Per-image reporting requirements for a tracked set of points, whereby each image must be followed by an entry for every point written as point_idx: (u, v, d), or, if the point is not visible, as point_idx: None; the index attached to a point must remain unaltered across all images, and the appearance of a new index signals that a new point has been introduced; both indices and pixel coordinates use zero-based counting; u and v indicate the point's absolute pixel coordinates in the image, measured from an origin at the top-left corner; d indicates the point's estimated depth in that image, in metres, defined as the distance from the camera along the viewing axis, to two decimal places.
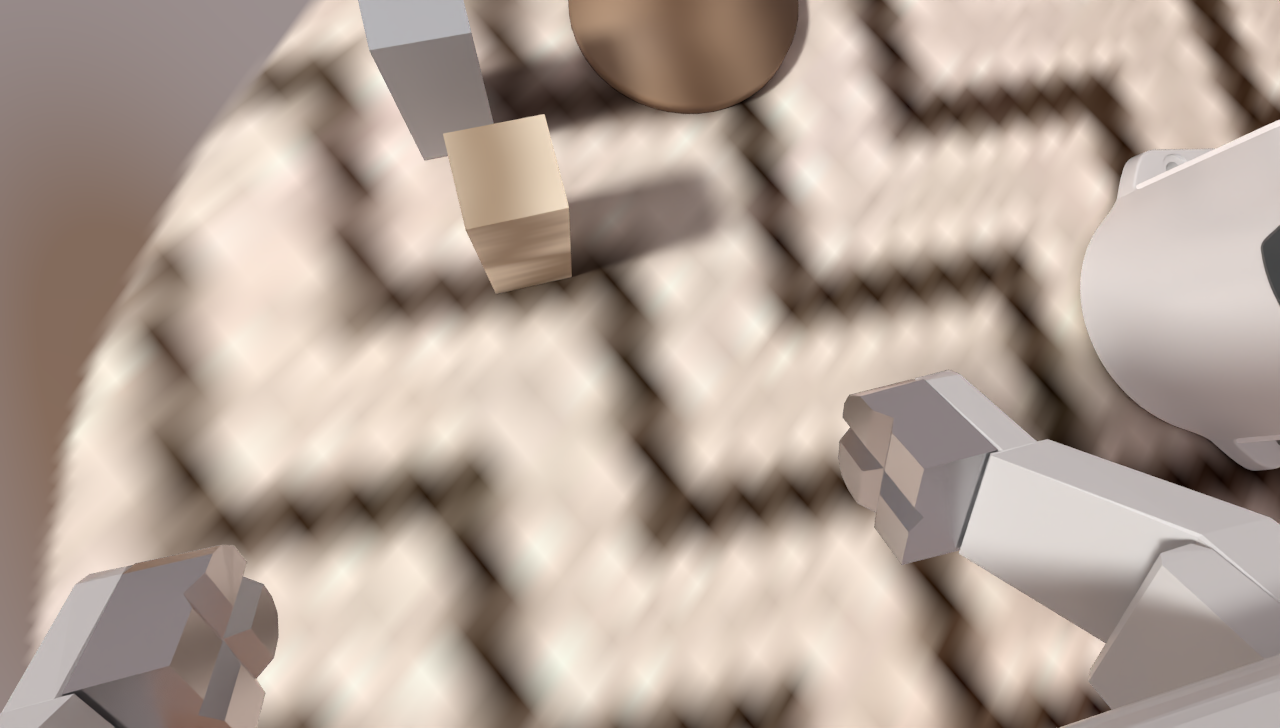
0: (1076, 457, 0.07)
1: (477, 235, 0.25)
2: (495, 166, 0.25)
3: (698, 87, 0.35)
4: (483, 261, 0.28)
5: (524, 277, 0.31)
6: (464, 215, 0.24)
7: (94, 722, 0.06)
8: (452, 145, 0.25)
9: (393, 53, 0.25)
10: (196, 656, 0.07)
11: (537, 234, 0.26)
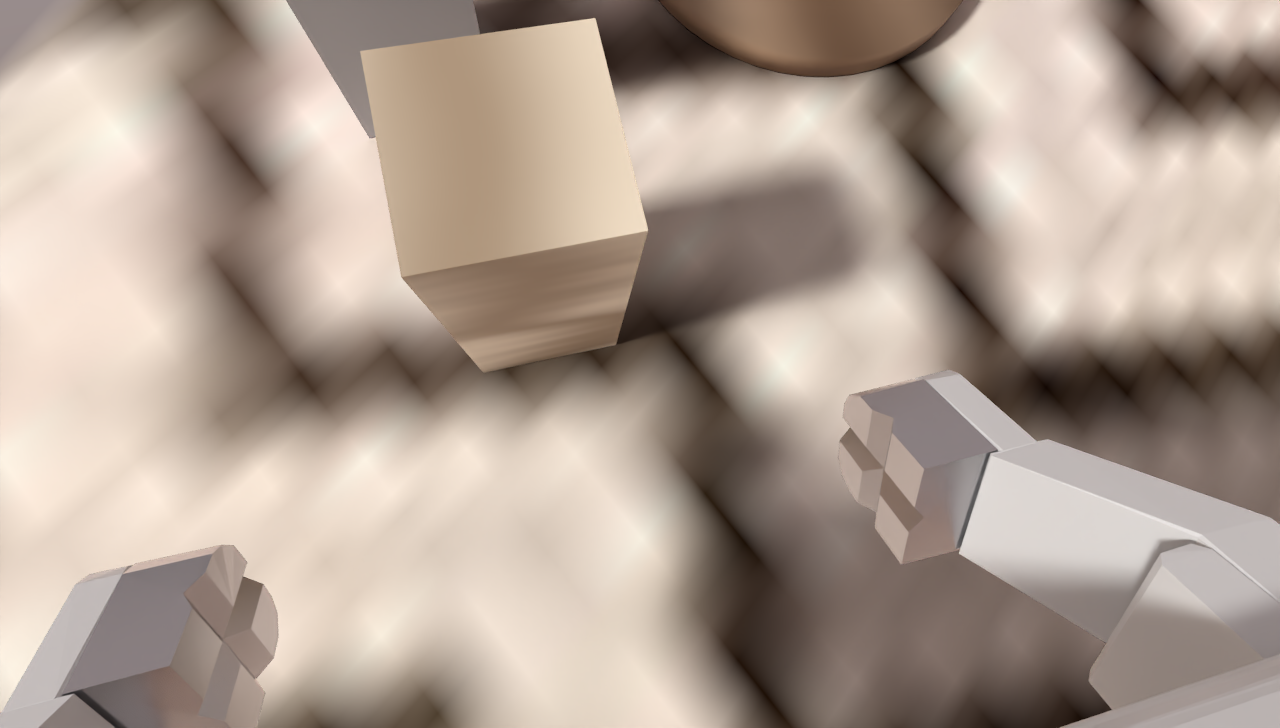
0: (1076, 457, 0.07)
1: (433, 289, 0.11)
2: (479, 129, 0.11)
3: (834, 31, 0.21)
4: (454, 331, 0.14)
5: (534, 349, 0.17)
6: (400, 242, 0.10)
7: (94, 722, 0.06)
8: (380, 79, 0.11)
9: None
10: (196, 656, 0.07)
11: (569, 284, 0.12)
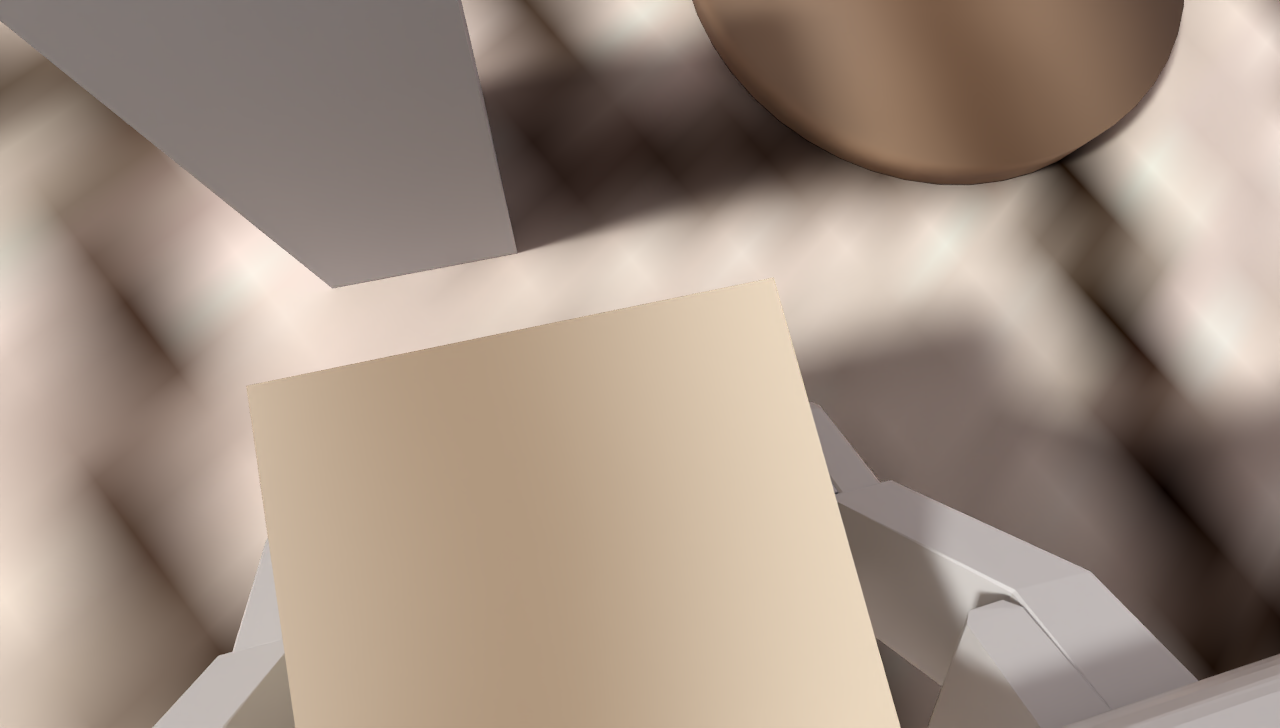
0: (913, 500, 0.07)
1: None
2: (526, 572, 0.04)
3: (987, 127, 0.15)
4: None
5: None
6: None
7: None
8: (293, 458, 0.04)
9: None
10: None
11: None
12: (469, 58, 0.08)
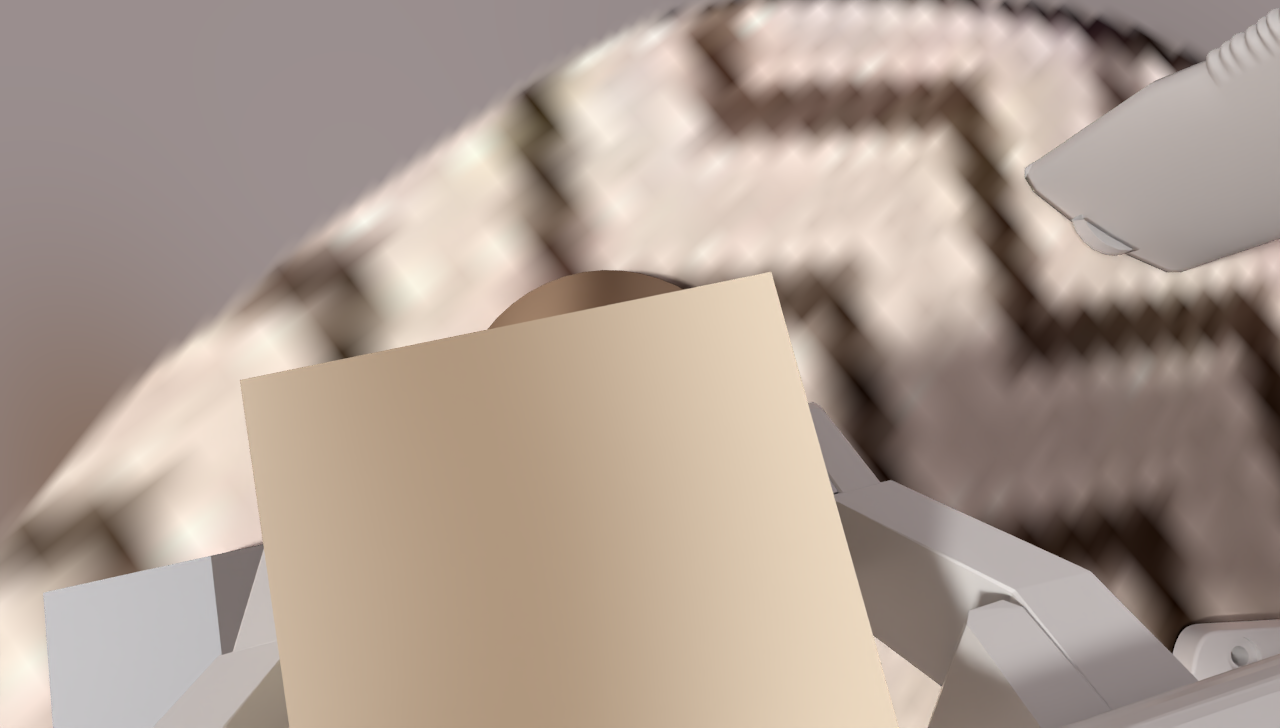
0: (914, 501, 0.07)
1: None
2: (523, 567, 0.04)
3: None
4: None
5: None
6: None
7: None
8: (287, 452, 0.04)
9: None
10: None
11: None
12: None
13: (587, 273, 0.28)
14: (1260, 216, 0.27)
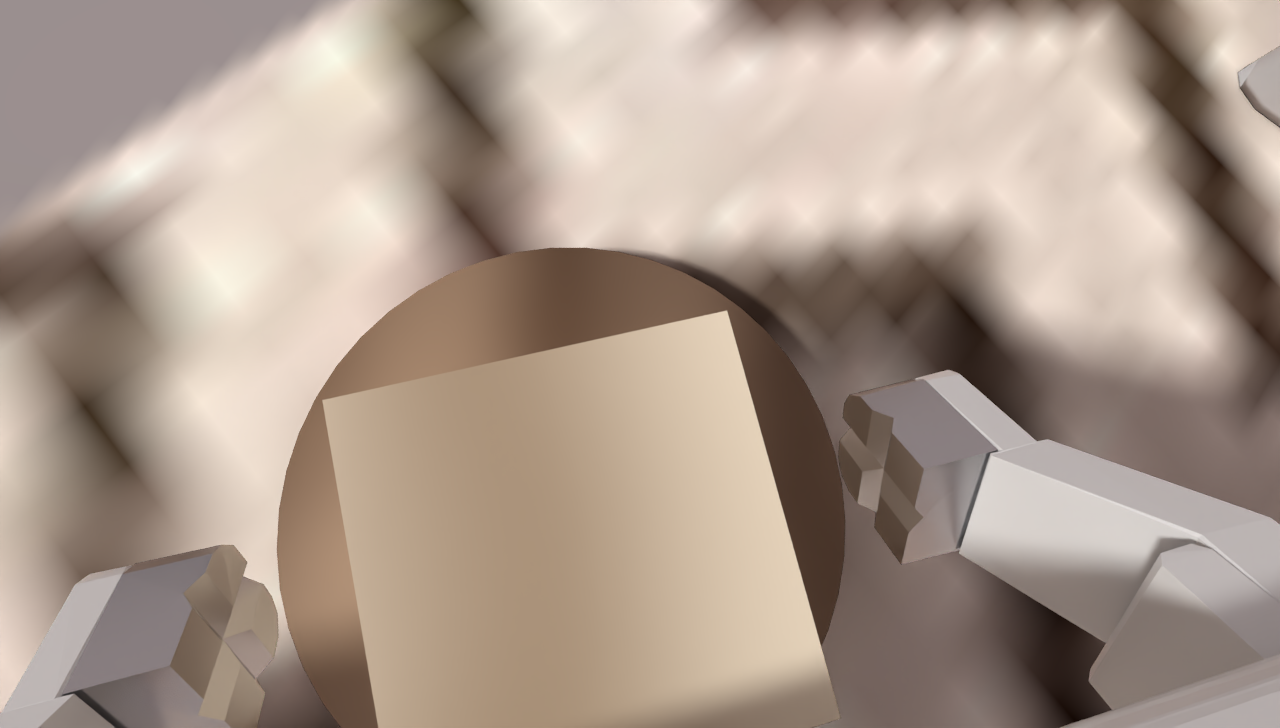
0: (1076, 457, 0.07)
1: None
2: (537, 539, 0.06)
3: None
4: None
5: None
6: None
7: (94, 722, 0.06)
8: (358, 454, 0.06)
9: None
10: (196, 656, 0.07)
11: None
12: None
13: (525, 254, 0.16)
14: None
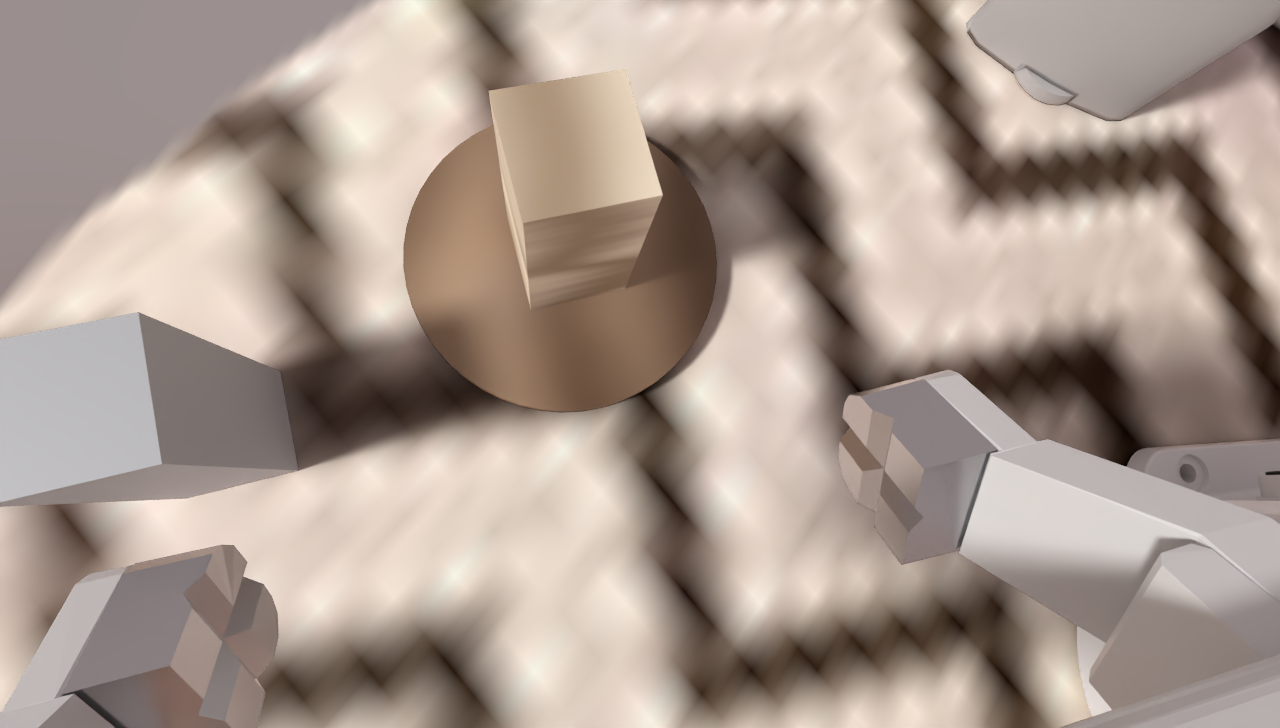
0: (1076, 457, 0.07)
1: (535, 232, 0.18)
2: (561, 136, 0.18)
3: (579, 385, 0.26)
4: (530, 268, 0.21)
5: (571, 289, 0.25)
6: (520, 203, 0.17)
7: (94, 722, 0.06)
8: (502, 107, 0.18)
9: (30, 497, 0.16)
10: (196, 656, 0.07)
11: (609, 232, 0.20)
12: (208, 465, 0.18)
13: None
14: (1189, 35, 0.27)
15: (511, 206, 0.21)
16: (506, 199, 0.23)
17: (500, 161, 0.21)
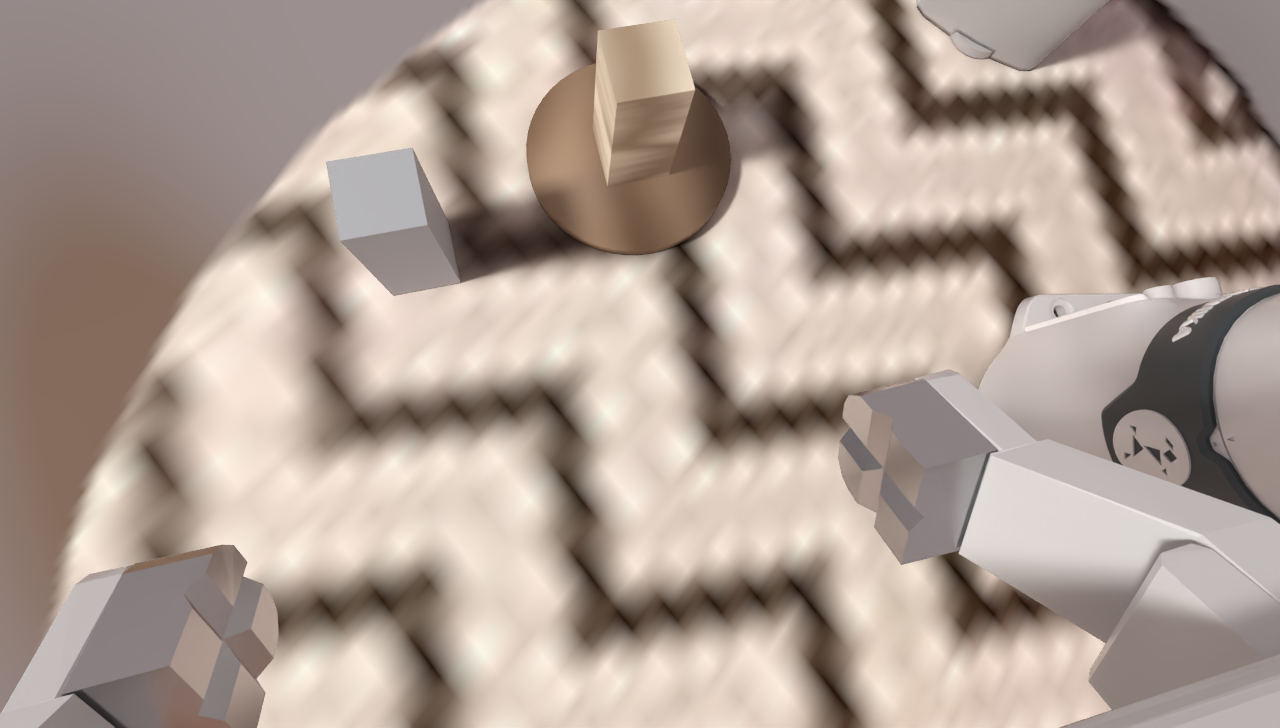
0: (1076, 457, 0.07)
1: (622, 111, 0.32)
2: (638, 56, 0.32)
3: (638, 234, 0.39)
4: (614, 143, 0.35)
5: (635, 168, 0.38)
6: (615, 92, 0.31)
7: (94, 722, 0.06)
8: (605, 40, 0.32)
9: (361, 240, 0.30)
10: (196, 656, 0.07)
11: (663, 117, 0.33)
12: (437, 242, 0.32)
13: None
14: (1058, 4, 0.40)
15: (603, 106, 0.35)
16: (597, 107, 0.37)
17: (597, 78, 0.35)
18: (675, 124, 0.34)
